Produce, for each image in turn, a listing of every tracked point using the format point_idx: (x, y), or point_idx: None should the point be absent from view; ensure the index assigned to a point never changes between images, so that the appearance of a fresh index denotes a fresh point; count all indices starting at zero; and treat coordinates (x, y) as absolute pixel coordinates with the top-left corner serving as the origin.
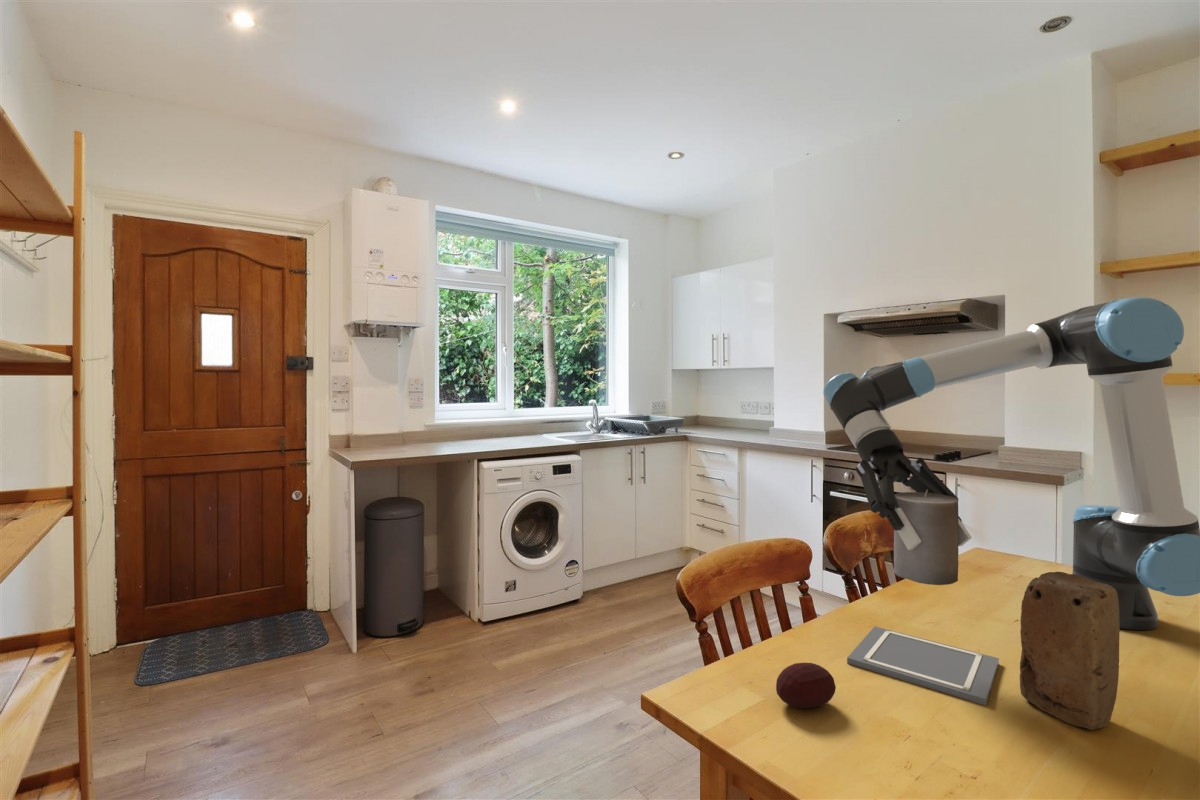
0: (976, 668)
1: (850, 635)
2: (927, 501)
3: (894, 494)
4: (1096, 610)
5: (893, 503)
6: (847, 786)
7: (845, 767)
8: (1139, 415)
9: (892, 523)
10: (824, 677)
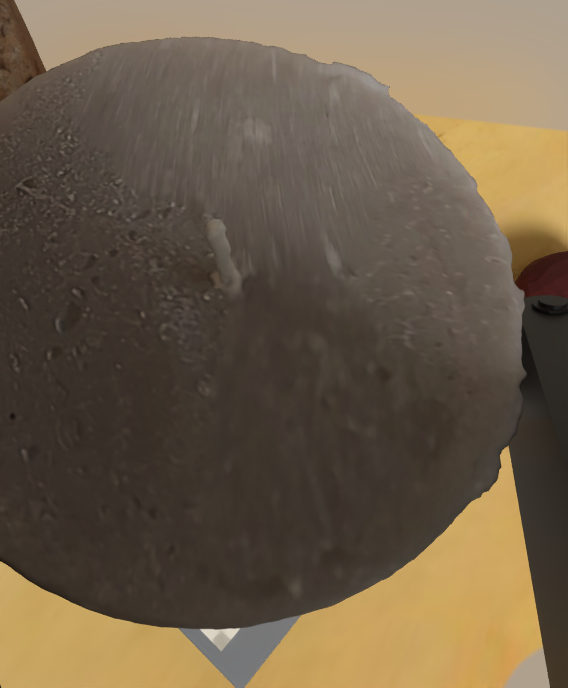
0: None
1: (331, 653)
2: (344, 96)
3: (484, 489)
4: None
5: (537, 318)
6: (535, 133)
7: (527, 163)
8: None
9: None
10: (557, 261)
